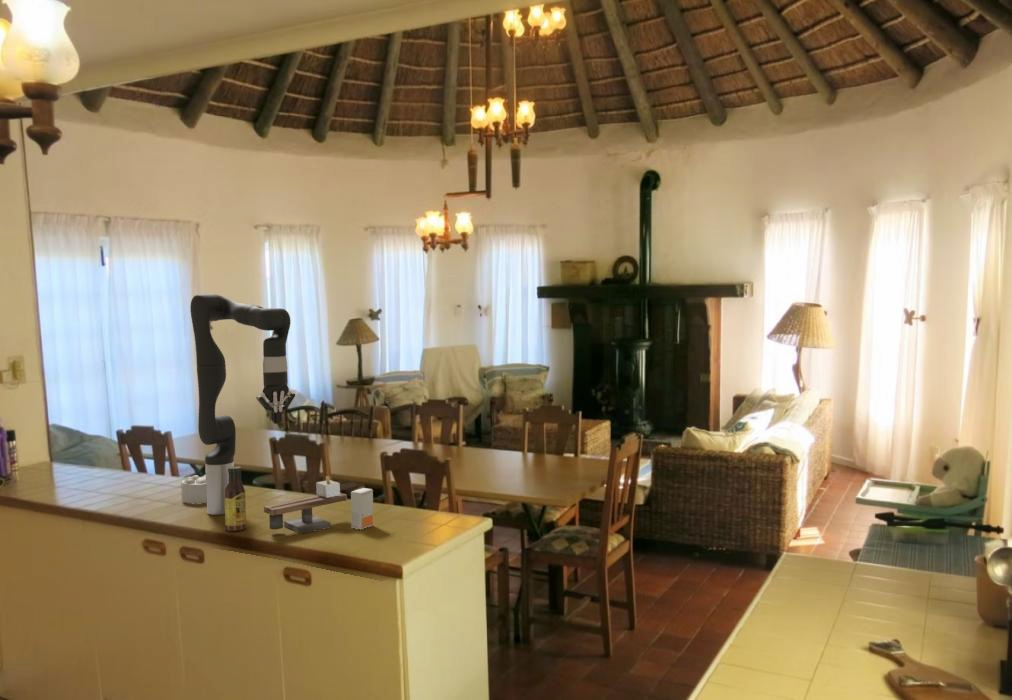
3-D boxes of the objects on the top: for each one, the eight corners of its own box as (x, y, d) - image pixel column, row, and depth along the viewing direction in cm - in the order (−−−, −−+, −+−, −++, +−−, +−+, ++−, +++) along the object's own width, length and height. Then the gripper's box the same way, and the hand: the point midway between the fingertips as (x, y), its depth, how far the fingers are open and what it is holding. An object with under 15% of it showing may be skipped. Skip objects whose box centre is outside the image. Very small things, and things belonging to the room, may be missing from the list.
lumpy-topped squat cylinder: (199, 505, 272) (198, 481, 272) (174, 501, 278) (173, 478, 278) (222, 498, 282) (221, 475, 281) (197, 494, 287) (196, 472, 287)
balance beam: (260, 531, 239) (259, 504, 239) (333, 515, 257) (332, 489, 257) (278, 539, 231) (277, 511, 230) (352, 522, 248) (351, 496, 248)
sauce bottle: (239, 532, 238) (237, 470, 237) (221, 531, 240) (219, 469, 238) (250, 526, 245) (248, 465, 244) (232, 525, 246) (230, 465, 245)
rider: (316, 499, 249) (316, 476, 249) (330, 497, 253) (329, 474, 252) (326, 503, 245) (325, 479, 244) (340, 500, 248) (339, 477, 248)
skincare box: (361, 530, 239) (360, 493, 238) (351, 528, 241) (350, 491, 241) (374, 525, 244) (373, 489, 244) (364, 523, 246) (363, 487, 246)
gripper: (288, 368, 252) (290, 419, 253) (250, 371, 243) (252, 424, 244) (299, 369, 247) (301, 422, 248) (260, 372, 238) (262, 427, 239)
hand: (276, 423), depth 246 cm, fingers closed
